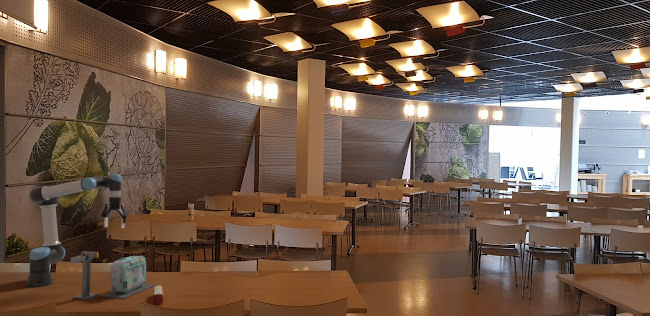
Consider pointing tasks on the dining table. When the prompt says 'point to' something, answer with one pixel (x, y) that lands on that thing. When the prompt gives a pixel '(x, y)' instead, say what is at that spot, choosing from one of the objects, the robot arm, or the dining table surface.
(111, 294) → the mat
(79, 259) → the bolt
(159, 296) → the snack package
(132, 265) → the lunch box
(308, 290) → the dining table surface
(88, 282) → the latch post
